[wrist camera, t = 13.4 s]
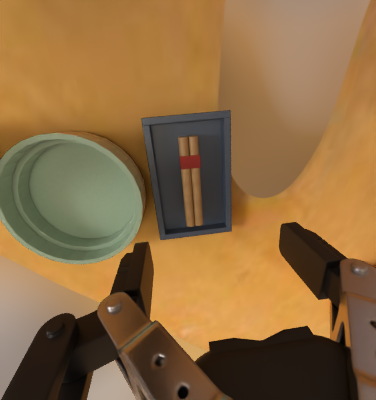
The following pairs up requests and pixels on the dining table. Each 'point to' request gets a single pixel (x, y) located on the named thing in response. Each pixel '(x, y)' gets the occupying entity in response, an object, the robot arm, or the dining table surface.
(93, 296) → the dining table surface
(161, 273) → the dining table surface
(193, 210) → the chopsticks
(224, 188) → the tray
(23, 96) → the dining table surface
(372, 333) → the robot arm
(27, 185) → the bowl
